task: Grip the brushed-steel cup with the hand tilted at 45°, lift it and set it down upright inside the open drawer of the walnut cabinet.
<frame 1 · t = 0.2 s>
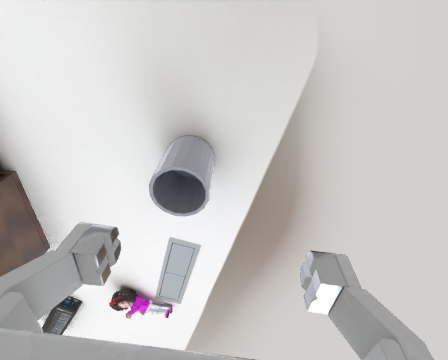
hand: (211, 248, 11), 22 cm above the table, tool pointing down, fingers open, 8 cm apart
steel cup: (191, 158, 34), on the table
multiport hub: (63, 311, 56), on the table
character figurine: (144, 297, 52), on the table
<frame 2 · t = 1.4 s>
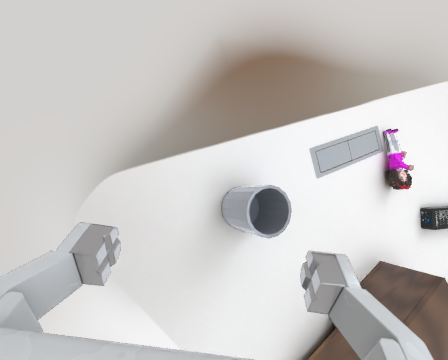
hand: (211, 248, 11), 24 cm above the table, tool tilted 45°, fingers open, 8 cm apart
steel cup: (241, 207, 39), on the table
cabinet: (370, 315, 48), on the table
multiport hub: (440, 216, 58), on the table
character figurine: (388, 160, 52), on the table
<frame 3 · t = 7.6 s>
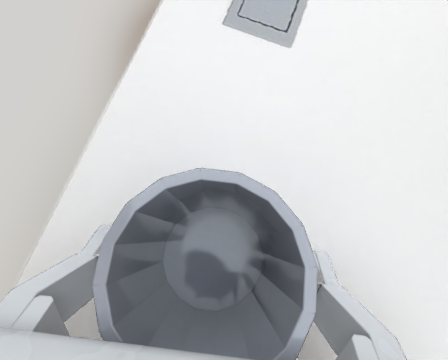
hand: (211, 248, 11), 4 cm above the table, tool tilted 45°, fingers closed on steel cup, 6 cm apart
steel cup: (213, 256, 15), on the table, touching gripper
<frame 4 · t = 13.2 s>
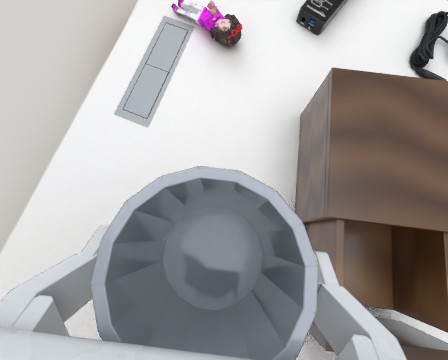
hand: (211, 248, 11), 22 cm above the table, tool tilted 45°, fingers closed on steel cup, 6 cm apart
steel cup: (213, 255, 15), point 18 cm above the table, touching gripper
cabinet: (346, 172, 35), on the table
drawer: (368, 285, 27), point 5 cm above the table, slide at 10.0 cm
multiport hub: (330, 0, 42), on the table
character figurine: (209, 27, 40), on the table
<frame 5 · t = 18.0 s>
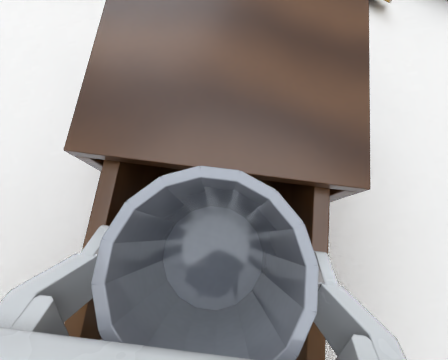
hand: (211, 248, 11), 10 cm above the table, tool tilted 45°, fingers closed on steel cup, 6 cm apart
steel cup: (213, 255, 15), point 6 cm above the table, touching gripper
cabinet: (227, 118, 23), on the table
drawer: (203, 287, 15), point 5 cm above the table, slide at 9.7 cm, touching gripper
when the fingers open (10 cm above the table, at t = 19.3 s): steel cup stays where it is, resting on cabinet, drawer.
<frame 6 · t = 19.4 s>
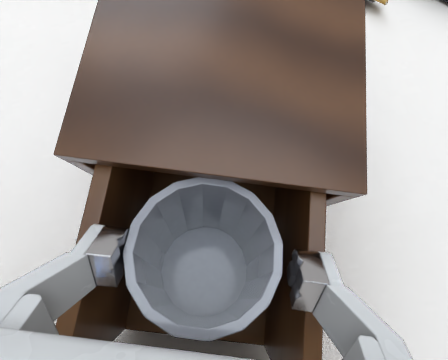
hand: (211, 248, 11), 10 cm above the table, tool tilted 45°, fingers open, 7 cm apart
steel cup: (204, 269, 18), point 3 cm above the table, tilted 12°, touching cabinet, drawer, gripper
cabinet: (223, 120, 23), on the table
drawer: (197, 307, 15), point 5 cm above the table, slide at 10.5 cm, touching gripper, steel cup
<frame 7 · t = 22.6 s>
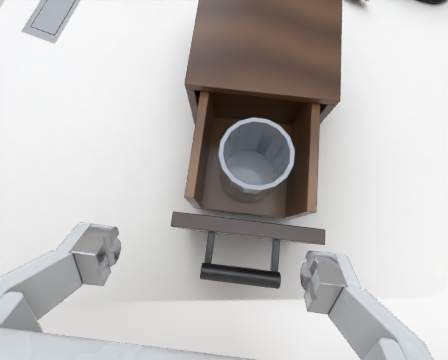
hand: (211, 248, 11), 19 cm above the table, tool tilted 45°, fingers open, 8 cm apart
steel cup: (247, 175, 29), point 2 cm above the table, touching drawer
cabinet: (254, 84, 34), on the table
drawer: (248, 184, 26), point 5 cm above the table, slide at 11.0 cm, touching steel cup
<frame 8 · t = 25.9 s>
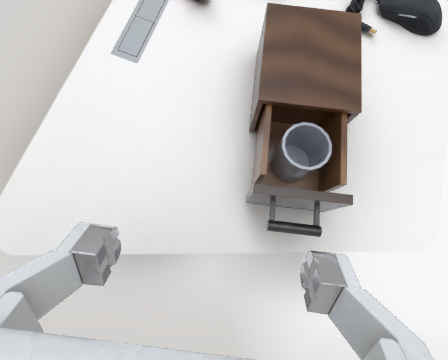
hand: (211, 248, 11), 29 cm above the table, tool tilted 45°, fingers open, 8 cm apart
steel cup: (290, 163, 40), point 2 cm above the table, touching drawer
cabinet: (291, 96, 45), on the table
computer mouse: (388, 20, 50), on the table
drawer: (294, 168, 37), point 5 cm above the table, slide at 11.0 cm, touching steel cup
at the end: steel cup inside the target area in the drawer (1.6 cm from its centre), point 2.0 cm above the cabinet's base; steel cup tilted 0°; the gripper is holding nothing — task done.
